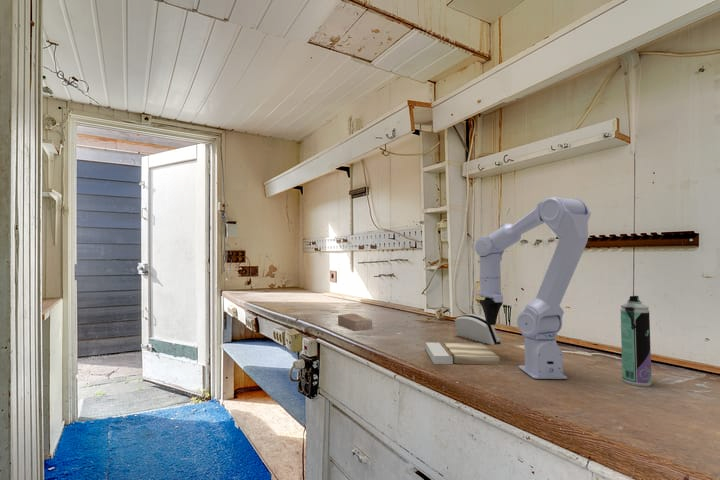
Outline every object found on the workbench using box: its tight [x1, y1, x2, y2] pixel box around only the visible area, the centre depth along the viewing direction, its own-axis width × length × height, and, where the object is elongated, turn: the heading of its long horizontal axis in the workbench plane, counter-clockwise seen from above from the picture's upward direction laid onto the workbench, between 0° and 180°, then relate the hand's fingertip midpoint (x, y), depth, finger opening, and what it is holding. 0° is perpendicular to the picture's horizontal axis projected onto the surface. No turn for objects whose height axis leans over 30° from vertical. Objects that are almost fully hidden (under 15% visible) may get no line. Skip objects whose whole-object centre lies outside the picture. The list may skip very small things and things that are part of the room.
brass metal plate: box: [443, 342, 500, 366], centre depth 112 cm, size 16×12×2 cm
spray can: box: [620, 295, 653, 387], centre depth 89 cm, size 6×6×20 cm
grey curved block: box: [454, 313, 503, 346], centre depth 134 cm, size 17×5×10 cm, turn 27°
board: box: [425, 341, 454, 365], centre depth 112 cm, size 16×5×2 cm, turn 178°
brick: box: [337, 313, 373, 332], centre depth 158 cm, size 17×8×5 cm, turn 29°
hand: (491, 324), depth 111 cm, fingers closed
